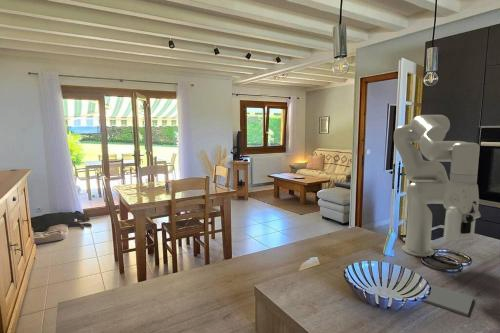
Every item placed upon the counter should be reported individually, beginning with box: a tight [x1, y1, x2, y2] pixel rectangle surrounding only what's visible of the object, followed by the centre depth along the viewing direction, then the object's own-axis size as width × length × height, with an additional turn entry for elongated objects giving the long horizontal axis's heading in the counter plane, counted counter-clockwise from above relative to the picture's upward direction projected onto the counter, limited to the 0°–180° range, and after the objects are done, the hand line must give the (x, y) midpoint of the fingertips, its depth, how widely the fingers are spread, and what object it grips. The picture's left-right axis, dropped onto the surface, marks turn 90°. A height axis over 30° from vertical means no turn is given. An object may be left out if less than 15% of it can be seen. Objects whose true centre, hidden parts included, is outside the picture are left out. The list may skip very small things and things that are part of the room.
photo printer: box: [443, 206, 476, 242], centre depth 104 cm, size 10×4×12 cm, turn 104°
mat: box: [423, 284, 474, 317], centre depth 95 cm, size 12×12×1 cm
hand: (459, 230), depth 104 cm, fingers closed on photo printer, 4 cm apart
